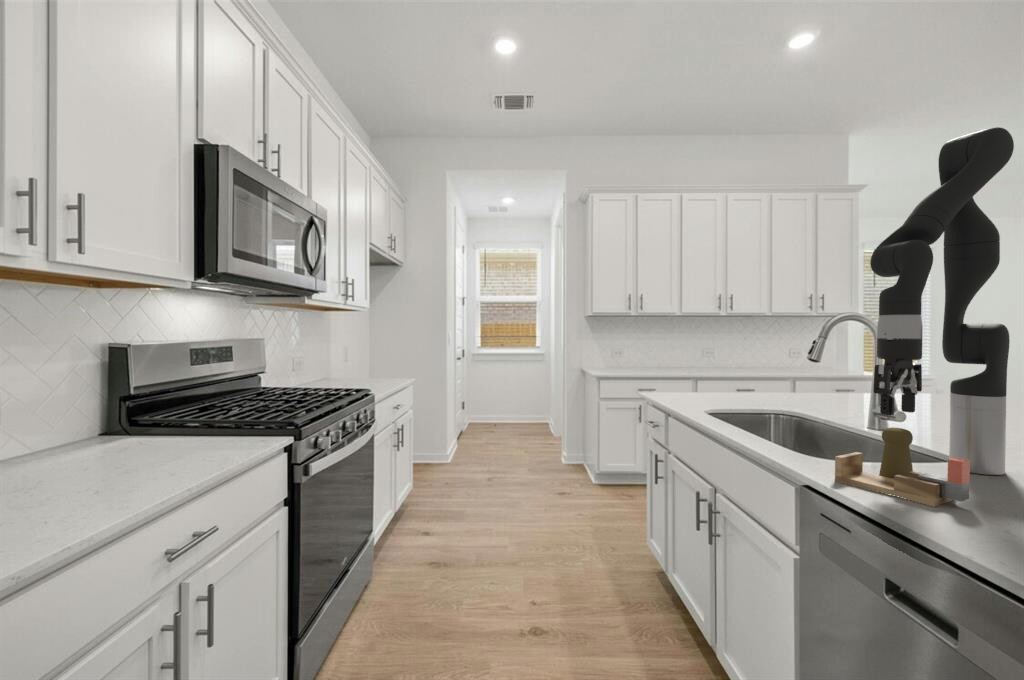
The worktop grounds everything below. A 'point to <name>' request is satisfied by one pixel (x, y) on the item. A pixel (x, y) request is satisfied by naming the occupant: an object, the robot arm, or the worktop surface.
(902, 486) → the light brown wooden holder
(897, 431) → the olive rounded piece
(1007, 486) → the worktop surface
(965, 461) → the red grey l-shaped block
